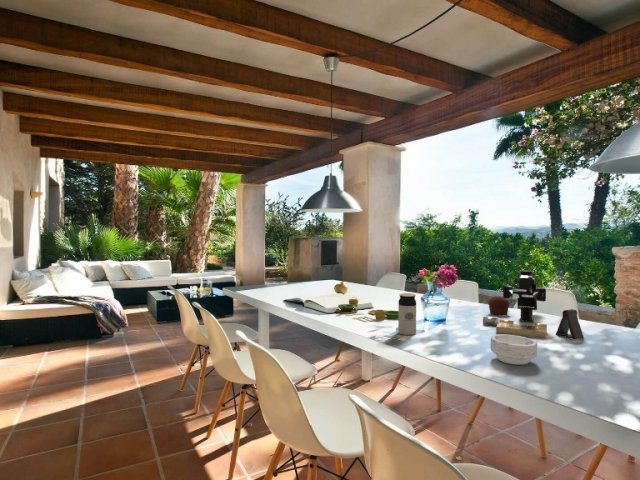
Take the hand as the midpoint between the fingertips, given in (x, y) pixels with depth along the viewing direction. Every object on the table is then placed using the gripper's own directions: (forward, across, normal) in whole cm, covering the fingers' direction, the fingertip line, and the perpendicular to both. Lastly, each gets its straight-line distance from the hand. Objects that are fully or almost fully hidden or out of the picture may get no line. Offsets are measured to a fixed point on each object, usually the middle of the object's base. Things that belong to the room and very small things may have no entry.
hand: (522, 295), depth 193 cm
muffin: (-36, -15, +17) cm, 43 cm away
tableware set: (+2, -80, +18) cm, 82 cm away
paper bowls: (+53, +1, +16) cm, 55 cm away
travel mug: (+34, -45, +17) cm, 59 cm away
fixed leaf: (+5, 0, +17) cm, 17 cm away
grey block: (-7, -15, +17) cm, 24 cm away
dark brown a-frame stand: (+2, +19, +17) cm, 25 cm away
